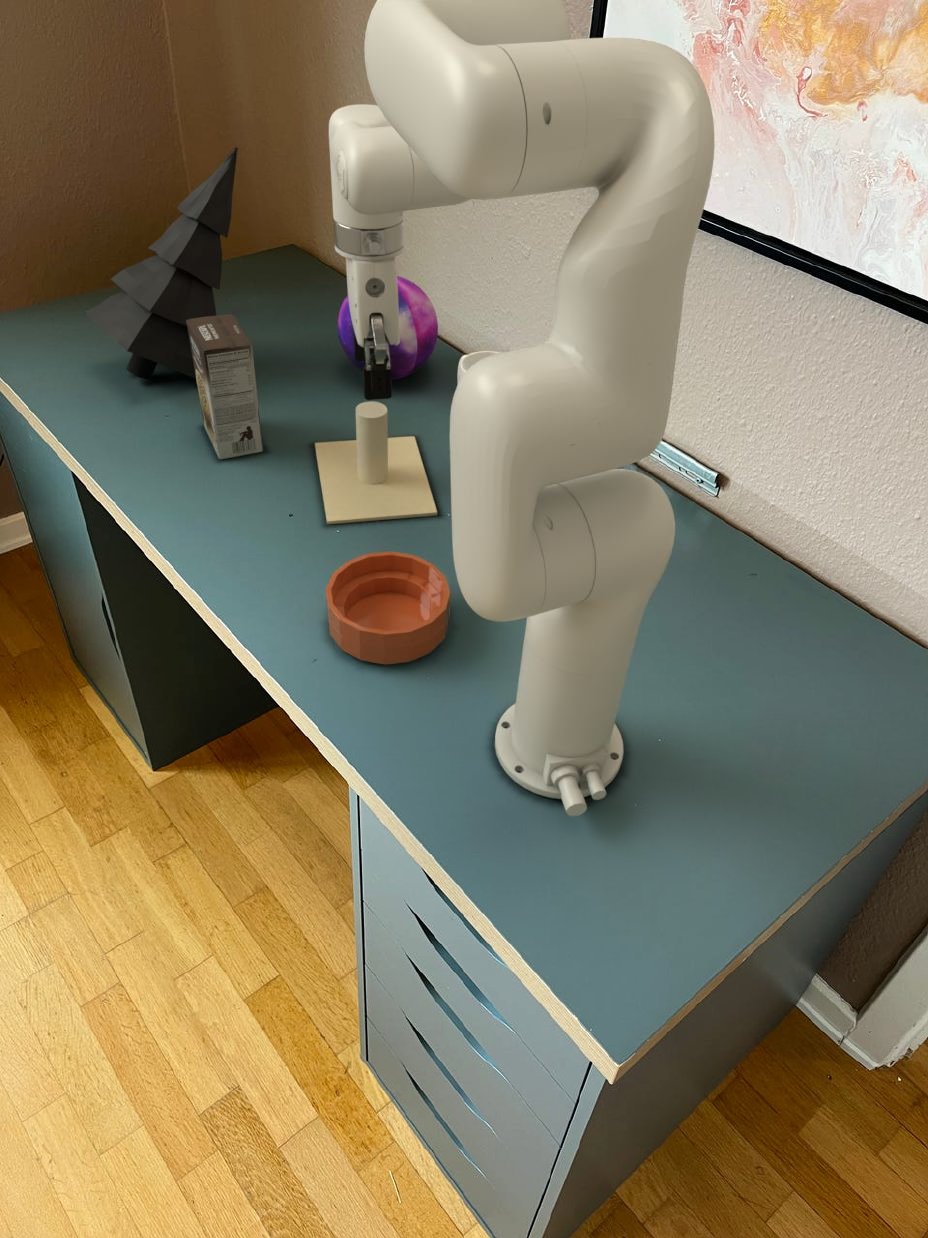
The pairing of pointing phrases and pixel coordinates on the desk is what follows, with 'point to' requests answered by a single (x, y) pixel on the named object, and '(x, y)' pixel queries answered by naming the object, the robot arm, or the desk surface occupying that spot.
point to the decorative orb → (413, 326)
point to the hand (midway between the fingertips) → (372, 378)
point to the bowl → (388, 607)
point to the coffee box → (226, 384)
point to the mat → (371, 502)
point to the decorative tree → (172, 281)
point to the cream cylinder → (372, 442)
